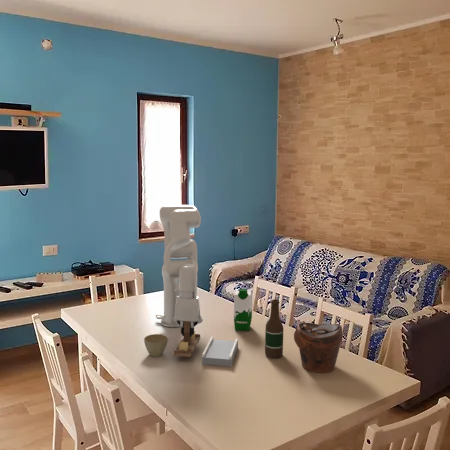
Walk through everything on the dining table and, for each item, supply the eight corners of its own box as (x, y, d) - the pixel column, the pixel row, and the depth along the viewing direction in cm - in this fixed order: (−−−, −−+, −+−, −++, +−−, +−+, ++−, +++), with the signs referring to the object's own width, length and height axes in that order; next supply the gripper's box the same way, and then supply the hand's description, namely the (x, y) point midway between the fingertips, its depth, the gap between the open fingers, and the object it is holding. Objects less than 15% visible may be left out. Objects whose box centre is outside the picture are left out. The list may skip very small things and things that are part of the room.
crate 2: (186, 339, 211) (186, 332, 210) (188, 336, 214) (188, 330, 213) (193, 339, 210) (193, 333, 210) (195, 337, 213) (195, 330, 213)
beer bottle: (284, 352, 208) (286, 298, 205) (280, 359, 201) (282, 303, 198) (267, 350, 211) (268, 296, 207) (262, 357, 203) (263, 301, 200)
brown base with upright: (190, 357, 196) (190, 324, 194) (173, 355, 197) (173, 322, 195) (200, 338, 215) (200, 308, 212) (184, 337, 216) (185, 307, 213)
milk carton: (232, 331, 234) (233, 290, 231) (234, 324, 243) (235, 285, 240) (251, 331, 233) (252, 291, 230) (252, 325, 242) (252, 286, 239)
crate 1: (179, 351, 198) (179, 344, 198) (181, 348, 201) (181, 341, 201) (186, 352, 198) (186, 345, 197) (188, 349, 201) (188, 342, 200)
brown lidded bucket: (284, 361, 199) (286, 319, 197) (324, 354, 207) (327, 314, 205) (307, 380, 183) (310, 334, 181) (350, 372, 191) (353, 328, 188)
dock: (201, 364, 195) (201, 354, 195) (211, 345, 215) (211, 336, 214) (231, 366, 194) (231, 356, 193) (237, 347, 213) (238, 338, 213)
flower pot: (139, 357, 202) (139, 340, 201) (151, 348, 211) (151, 332, 210) (161, 360, 198) (161, 344, 197) (172, 351, 208) (172, 335, 207)
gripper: (166, 295, 200) (166, 337, 203) (205, 297, 197) (204, 340, 200) (171, 289, 207) (171, 330, 210) (208, 292, 204) (208, 333, 207)
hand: (187, 335), depth 205 cm, fingers closed on brown base with upright, 2 cm apart
